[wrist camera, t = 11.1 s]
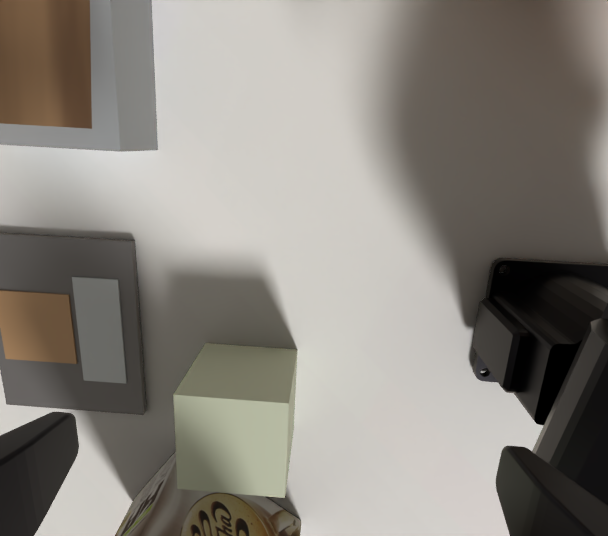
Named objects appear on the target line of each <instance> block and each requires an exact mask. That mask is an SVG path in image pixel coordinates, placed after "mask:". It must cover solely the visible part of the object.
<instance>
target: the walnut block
mask: <svg viewBox="0 0 608 536" xmlns="http://www.w3.org/2000/svg"><path fill="white" fill-rule="evenodd" d="M0 123H2V124H19V125H36V126H54V127H71V128H88V129H92V101H91V40H90V0H0Z"/></svg>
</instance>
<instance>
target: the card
mask: <svg viewBox="0 0 608 536" xmlns="http://www.w3.org/2000/svg"><path fill="white" fill-rule="evenodd" d="M0 370H1V376H2V381H3V387H4V393H5V398H6V404H9V405H22V406H35V407H48V408H61V409H74V410H87V411H101V412H114V413H127V414H140V415H144V413H145V412H146V411H147V410H146V396H145V381H144V367H143V353H142V338H141V324H140V310H139V295H138V281H137V266H136V252H135V240H118V239H101V238H84V237H67V236H49V235H32V234H15V233H0Z"/></svg>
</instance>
